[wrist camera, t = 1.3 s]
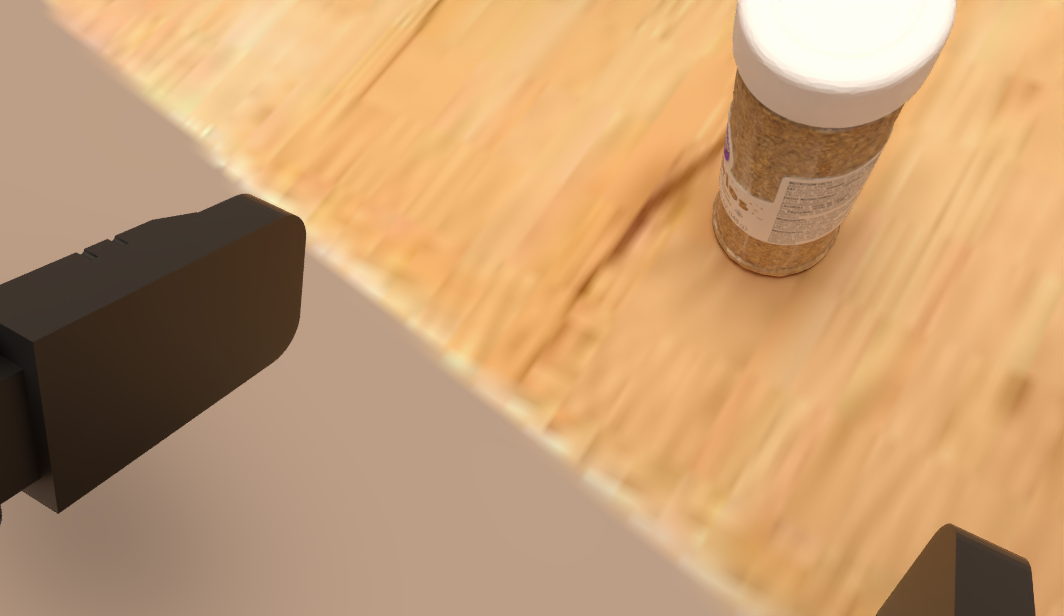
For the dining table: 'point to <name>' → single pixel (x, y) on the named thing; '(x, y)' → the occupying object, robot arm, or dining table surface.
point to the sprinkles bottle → (814, 117)
